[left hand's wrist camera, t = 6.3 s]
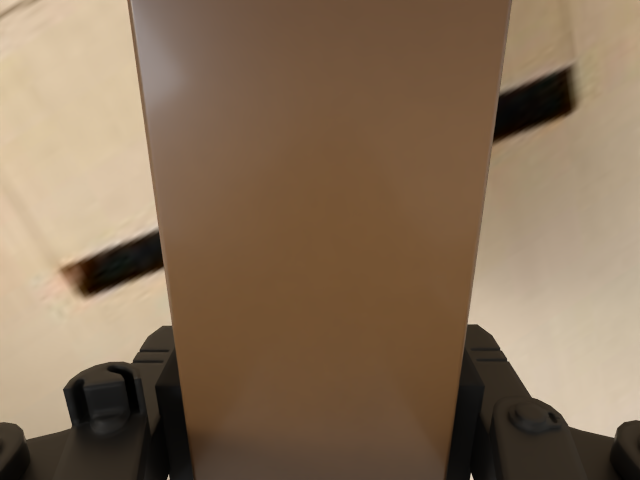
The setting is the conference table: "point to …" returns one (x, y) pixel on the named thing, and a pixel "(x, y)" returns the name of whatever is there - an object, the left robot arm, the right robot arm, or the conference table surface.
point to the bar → (319, 223)
